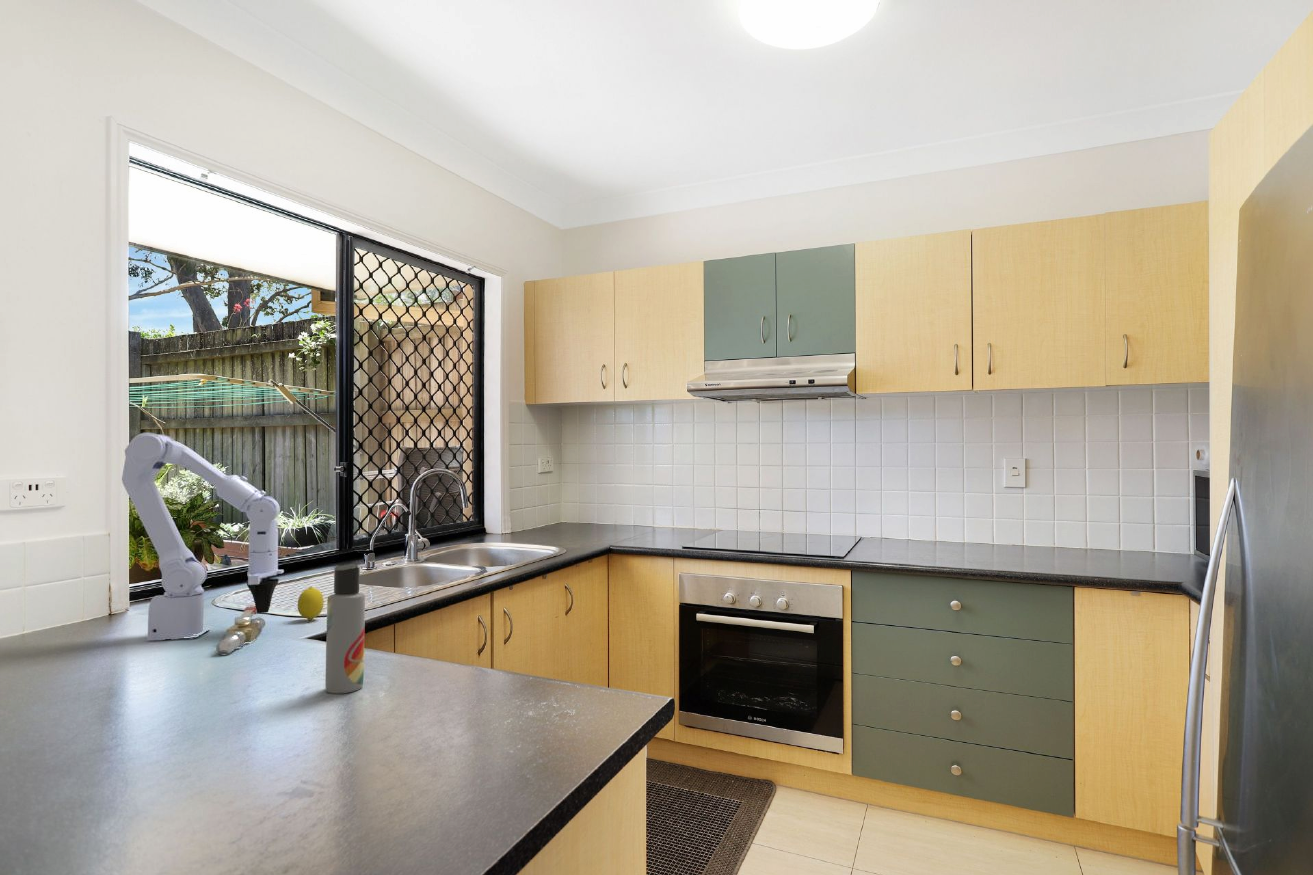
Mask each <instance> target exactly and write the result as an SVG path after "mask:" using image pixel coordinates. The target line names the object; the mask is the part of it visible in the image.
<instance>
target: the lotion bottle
mask: <svg viewBox="0 0 1313 875" xmlns="http://www.w3.org/2000/svg"><path fill="white" fill-rule="evenodd" d="M333 573H334V576H333V578H334V579H333V593H332V594H330V595H328V596H327V598H326V600H327V602H326V603H327V607H326V641H325V645H326V647H325V677H324V678H325V691H326V692H327V693H329V694H335V695H337V694H347V693H352V692H356V691H358V690H360V689H362V688H363V686H364V676H365V674H364V671H365V669H364V668H365V629H366V628H365V626H366V624H365V622H366V620H365V619H366V595H365V593H363V592H360V578H361V577H360V576H361V575H360V567H358V564H356V563H349V564H344V565H339V566H335V567H334V572H333Z"/></svg>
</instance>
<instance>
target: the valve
mask: <svg viewBox="0 0 1313 875" xmlns="http://www.w3.org/2000/svg"><path fill="white" fill-rule="evenodd" d="M265 626H266V620H265V619H264V618H262V617H260V616H259V617H258V616H257V617H256V618H251V623H250V624H245V625H235V624H233V625H232V626H229V628H226V634H225V635H224V636H223V637H222V639H221V640H220V642H218V643H217V645H216V653H218V655H220V654H228V655H230V654H231V653H232V652H234V651H235V650H234V649H236V648H237V647H242V646H243V647H244V646H245V644H244V643H245V642H251V641H253V640H254V639H256V638H257V637H258V638H259V636H260V634H261V633H262V631H263V629H264V628H265ZM256 640H257V639H256ZM243 647H242V648H243ZM236 650H237V649H236Z"/></svg>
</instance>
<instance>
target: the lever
mask: <svg viewBox="0 0 1313 875" xmlns="http://www.w3.org/2000/svg"><path fill="white" fill-rule="evenodd" d="M257 614H258V613H257V611H256V607H255V605H254V606H253V605H252V606H246V607H245V608H244V611H243V613H242V614H241V615H240V616H237V617H235V618H234V625H245V624H250V623H251V619H252V617H253V616H254V615H257Z"/></svg>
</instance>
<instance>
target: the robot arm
mask: <svg viewBox="0 0 1313 875" xmlns="http://www.w3.org/2000/svg"><path fill="white" fill-rule="evenodd" d="M124 454H125V455H124V456H125V459H124V465H123V469H122V476H121V481H122V485H123V487H124V489H125V491H126V493H127V495H128V497H129V498H130V501H131V503H132V504H133V507H134V509H135V512H137V515H138V516H139V519H140V521H141V523H142V525H143V527H144V529H145V531H146V533H147V536H148V538H149V539H150V542H151V543H152V545H153V547H154V549H155V551H156V553H157V555H158V568H159V571H160V572H161V586H162V588H163V589H164V591H165V592H164V591H163V595H162V594H161V595H160V594H159V595H155V596H154V597H152V599H151V600H150V603H149V607H148V614H147V615H148V616H147V619H148V620H147V637H146V638H145V641H146V642H149V641H150V642H151V641H163V640H164V641H165V639H171V640H179V639H178V638H184V637H191V636H197V635H193V634H198V633H200V632H202V631H203V628H204V612H205V611H204V609H205V589H204V587H202V584H203V583H204V582H205V581H206V579H207V577H208V572H207V568H206V566H205V565H204V564H203V563H201V562H200V561H199V560H198V559H197V558H196V556H195V555H194V553H193V552H192V550H190V548H188V547H187V546H186V544H185V542H184V540H183V538H182V536H181V534H180V532H179V530H178V527H177V526H176V523H175V521H174V519H173V518H172V515H171V513H170V511H169V509H168V506H167V505H166V503H165V501H164V499H163V497H162V495H161V493H160V491H159V489H158V487H157V484H156V483H155V479H156V478H157V476H158V475H159V473H160V471H161V470H162V468H163V467H164V466H166V465H167V464H171V465H177V466H182V467H183V468H186V469H187V470H188V471H190V472H191V473H193V474H195V475H197V476H198V477H200V478H201V479H203V480H204V481H206V482H208V483H209V484H211V485H212V486H214V487H215V489H216V490H215V491H216V496H217V497H219V498H220V499H222V500H223V501H225V502H226V503H227V504H229V505H231V506H233V508H235V509H237V510H238V511H239V512H241V513H245V515H246V518H247V519H248V520H249V531H248V569H247V570H248V571H247V573H246V574H247V578H248V579H247V582H246V586H247V588H248V590H249V591H250V593H251V596H252V599H253V602H254V606H255V607H256V611H257V613H256V614H265V613H266V614H267V613H269V610H270V608H271V603H272V598H273V595H274V592H275V589H276V587H277V585H278V583H279V578H277V577H276V578H271V577H272V576H277V575H278V574H279V575H280V574H283V573H284V572H285V570H284V569H279V529H278V525H279V524H278V517H279V514H280V510H281V508H280V504H279V503H278V501H277V500H276V499H275V498H274V497H273V496H270V495H269V496H267V495H266V494H267V492H266V491H264V490H263V489H262V490H259V489H257V488H256V487H255V486H254V485H252V484H251V483H249V482H247V481H248V480H249V479H248V478H247V477H246V476H244V475H241V476H239V475H237V474H231V475H227V474H225V473H224V472H222V471H221V470H220V469H218V467H216V466H214V464H212V463H210V462H209V461H208V460H207V459H205V458H204V457H202V456H201V455H199V454H198V453H197V452H195V451H194V450H193V449H192V448H189V447H188V445H187V446H186V445H184V444H183V443H181V442H179V441H177V440H174V439H173V438H172V437H171V436H170V435H169V436H168V435H166V434H158V433H157V434H156V433H153V432H142V433H139V434H137V435H136V436H134V437H133V438H132V439H131V441H130V442H129V444H128V445H127V446H126V448H125V449H124Z"/></svg>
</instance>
